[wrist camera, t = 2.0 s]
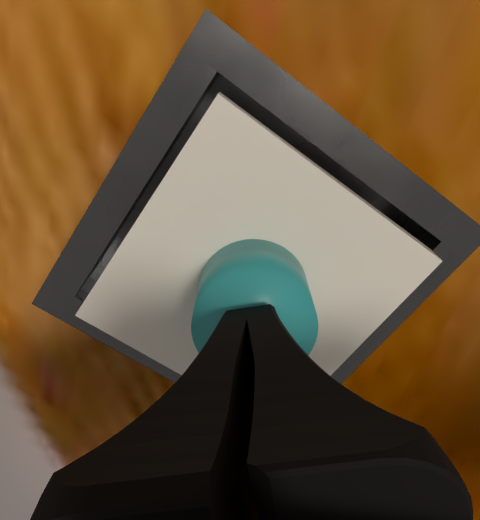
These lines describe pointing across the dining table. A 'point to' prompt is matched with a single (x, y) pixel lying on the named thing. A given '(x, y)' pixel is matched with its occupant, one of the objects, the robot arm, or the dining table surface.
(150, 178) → the press housing
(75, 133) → the dining table surface
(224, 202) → the plunger
